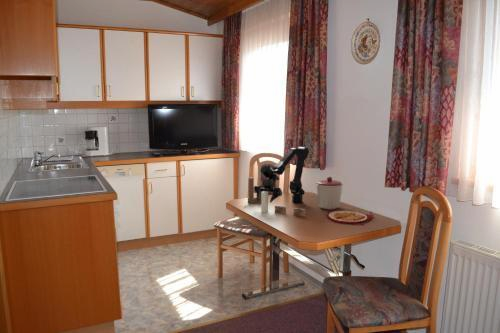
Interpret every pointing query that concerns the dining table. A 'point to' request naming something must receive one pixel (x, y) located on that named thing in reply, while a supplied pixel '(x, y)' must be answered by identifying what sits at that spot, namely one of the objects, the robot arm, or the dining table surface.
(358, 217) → the plate with food
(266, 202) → the sage plank
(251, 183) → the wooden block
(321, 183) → the canister
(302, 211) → the walnut slotted plate
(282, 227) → the dining table surface
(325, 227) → the dining table surface
